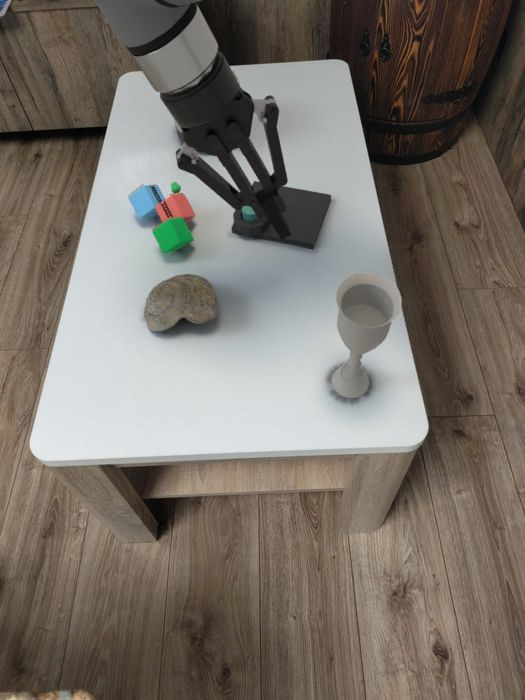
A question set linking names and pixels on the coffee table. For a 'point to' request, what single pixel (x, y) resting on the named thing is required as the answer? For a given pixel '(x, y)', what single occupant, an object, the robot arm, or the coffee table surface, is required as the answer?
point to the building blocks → (165, 215)
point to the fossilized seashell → (180, 302)
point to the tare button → (249, 214)
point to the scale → (289, 217)
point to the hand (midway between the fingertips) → (283, 230)
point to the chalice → (363, 325)
